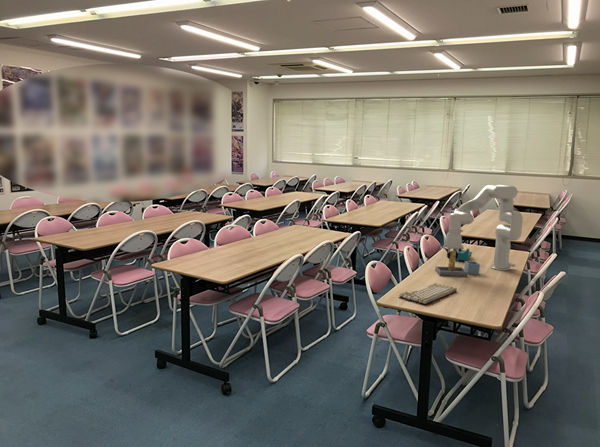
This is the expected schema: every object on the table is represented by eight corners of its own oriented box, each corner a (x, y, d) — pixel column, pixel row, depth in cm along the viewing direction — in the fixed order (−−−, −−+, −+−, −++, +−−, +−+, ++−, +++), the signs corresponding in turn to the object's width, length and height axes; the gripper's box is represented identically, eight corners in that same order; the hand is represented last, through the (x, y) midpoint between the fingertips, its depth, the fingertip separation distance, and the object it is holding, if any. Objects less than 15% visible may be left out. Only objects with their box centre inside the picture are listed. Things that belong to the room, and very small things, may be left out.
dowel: (453, 269, 317) (454, 250, 315) (455, 271, 313) (456, 252, 311) (447, 269, 317) (448, 250, 315) (449, 270, 313) (450, 252, 311)
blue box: (475, 271, 323) (476, 261, 321) (478, 274, 315) (479, 264, 314) (464, 271, 323) (464, 261, 322) (467, 274, 315) (468, 264, 314)
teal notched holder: (466, 263, 347) (468, 249, 345) (451, 259, 352) (453, 246, 350) (470, 258, 362) (473, 245, 360) (456, 255, 367) (459, 242, 365)
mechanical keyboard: (430, 285, 290) (431, 280, 289) (459, 293, 277) (460, 287, 276) (397, 299, 263) (397, 293, 263) (427, 308, 250) (428, 302, 250)
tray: (461, 271, 321) (461, 267, 321) (467, 276, 309) (467, 272, 309) (435, 270, 322) (435, 266, 321) (439, 275, 310) (440, 271, 309)
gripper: (465, 230, 314) (463, 257, 317) (440, 230, 314) (438, 256, 318) (469, 233, 306) (466, 260, 310) (443, 232, 307) (441, 259, 310)
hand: (452, 258), depth 314 cm, fingers open, 4 cm apart
